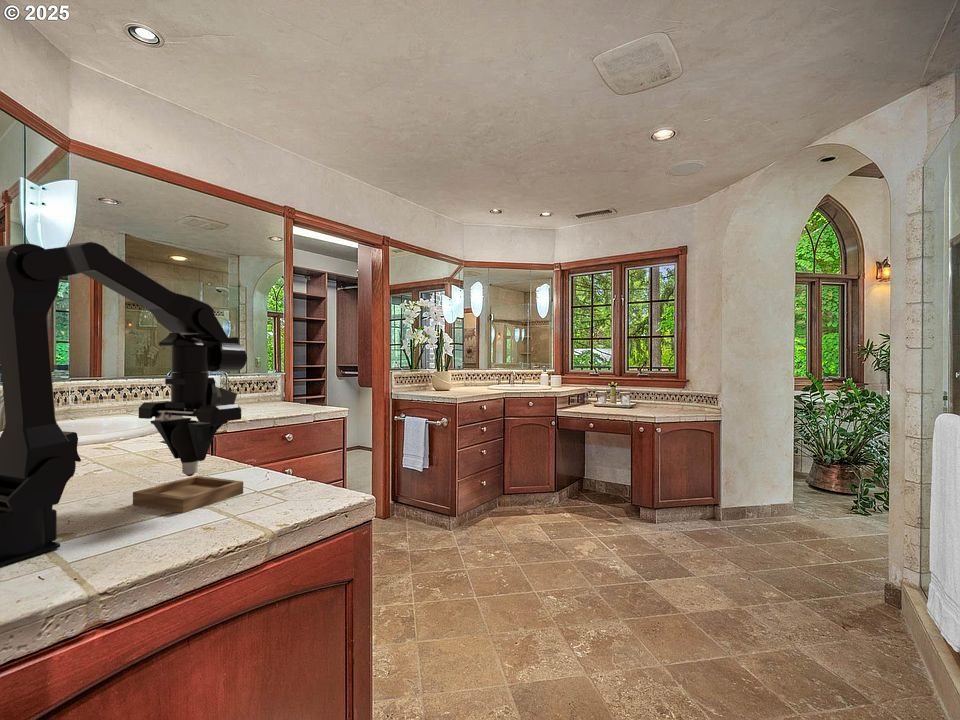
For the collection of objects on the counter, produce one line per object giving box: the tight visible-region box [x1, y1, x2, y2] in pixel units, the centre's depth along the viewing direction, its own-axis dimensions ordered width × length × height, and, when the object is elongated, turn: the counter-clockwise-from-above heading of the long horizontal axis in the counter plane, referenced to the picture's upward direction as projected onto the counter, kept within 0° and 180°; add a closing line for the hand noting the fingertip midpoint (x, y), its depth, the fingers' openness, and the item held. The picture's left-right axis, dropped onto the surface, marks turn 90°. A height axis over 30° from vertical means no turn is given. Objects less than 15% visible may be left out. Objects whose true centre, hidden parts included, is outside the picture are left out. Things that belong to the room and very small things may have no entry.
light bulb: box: [171, 419, 199, 477], centre depth 84 cm, size 6×6×10 cm
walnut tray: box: [132, 475, 244, 514], centre depth 84 cm, size 12×12×2 cm
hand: (189, 459), depth 84 cm, fingers closed on light bulb, 5 cm apart
